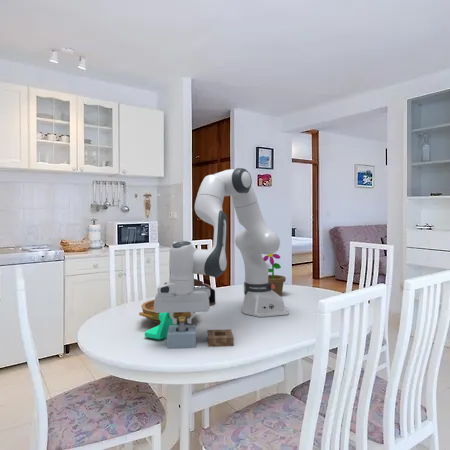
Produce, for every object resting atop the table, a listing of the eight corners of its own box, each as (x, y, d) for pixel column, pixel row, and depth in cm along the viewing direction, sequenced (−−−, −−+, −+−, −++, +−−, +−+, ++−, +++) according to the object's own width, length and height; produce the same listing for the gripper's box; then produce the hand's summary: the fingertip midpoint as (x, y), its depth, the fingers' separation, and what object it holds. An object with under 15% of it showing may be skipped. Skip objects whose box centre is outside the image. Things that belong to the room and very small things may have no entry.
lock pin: (186, 341, 136) (186, 316, 136) (186, 344, 134) (185, 318, 133) (178, 341, 136) (178, 316, 136) (178, 344, 133) (178, 318, 133)
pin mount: (231, 337, 141) (231, 329, 141) (233, 345, 132) (233, 337, 132) (207, 337, 140) (207, 330, 140) (208, 346, 131) (208, 338, 131)
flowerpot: (255, 295, 207) (256, 242, 206) (266, 291, 220) (267, 240, 218) (279, 299, 200) (279, 244, 198) (289, 293, 212) (289, 242, 211)
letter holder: (202, 308, 182) (202, 280, 181) (174, 302, 194) (174, 275, 193) (215, 304, 189) (215, 277, 189) (188, 298, 202) (188, 273, 201)
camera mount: (162, 329, 150) (162, 304, 150) (178, 332, 147) (177, 307, 146) (143, 339, 139) (143, 312, 139) (160, 342, 136) (159, 314, 136)
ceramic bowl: (159, 337, 140) (158, 317, 140) (124, 324, 157) (124, 305, 157) (214, 320, 162) (214, 302, 161) (178, 310, 178) (178, 293, 178)
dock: (195, 337, 140) (195, 324, 140) (195, 347, 130) (195, 333, 130) (169, 338, 140) (169, 325, 139) (167, 348, 130) (167, 334, 129)
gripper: (210, 283, 138) (210, 320, 139) (154, 285, 136) (155, 321, 137) (210, 287, 132) (210, 325, 132) (152, 288, 130) (153, 327, 131)
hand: (182, 323), depth 135 cm, fingers open, 4 cm apart
